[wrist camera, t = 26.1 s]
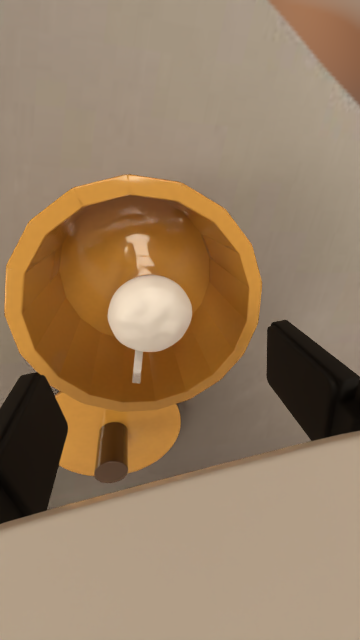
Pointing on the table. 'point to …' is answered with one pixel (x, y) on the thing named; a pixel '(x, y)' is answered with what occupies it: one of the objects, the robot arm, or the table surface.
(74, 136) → the table surface
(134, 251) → the orange bowl
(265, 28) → the table surface
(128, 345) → the milkshake
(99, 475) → the lid
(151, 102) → the table surface
